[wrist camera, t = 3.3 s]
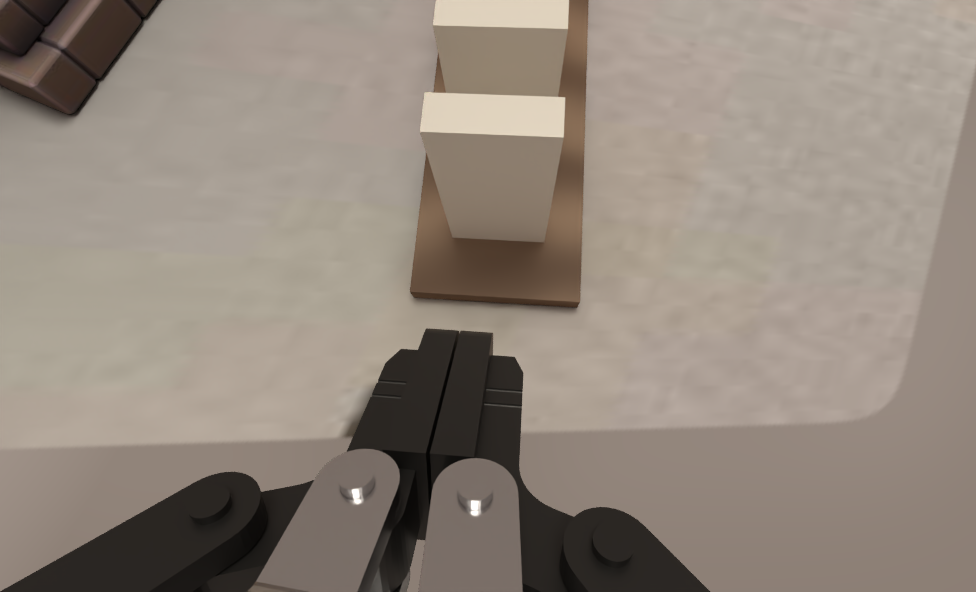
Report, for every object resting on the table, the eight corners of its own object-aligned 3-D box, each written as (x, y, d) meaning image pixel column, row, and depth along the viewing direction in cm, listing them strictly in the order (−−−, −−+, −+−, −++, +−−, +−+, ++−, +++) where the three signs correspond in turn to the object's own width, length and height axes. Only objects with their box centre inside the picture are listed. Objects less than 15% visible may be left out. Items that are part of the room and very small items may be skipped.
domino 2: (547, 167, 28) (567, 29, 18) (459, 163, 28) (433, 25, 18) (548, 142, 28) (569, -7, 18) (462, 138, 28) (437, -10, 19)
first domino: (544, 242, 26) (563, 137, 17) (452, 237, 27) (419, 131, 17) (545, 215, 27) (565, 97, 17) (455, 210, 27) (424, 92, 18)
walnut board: (576, 307, 27) (579, 302, 26) (414, 297, 27) (409, 291, 26) (588, -87, 34) (591, -106, 33) (458, -89, 34) (457, -107, 33)
